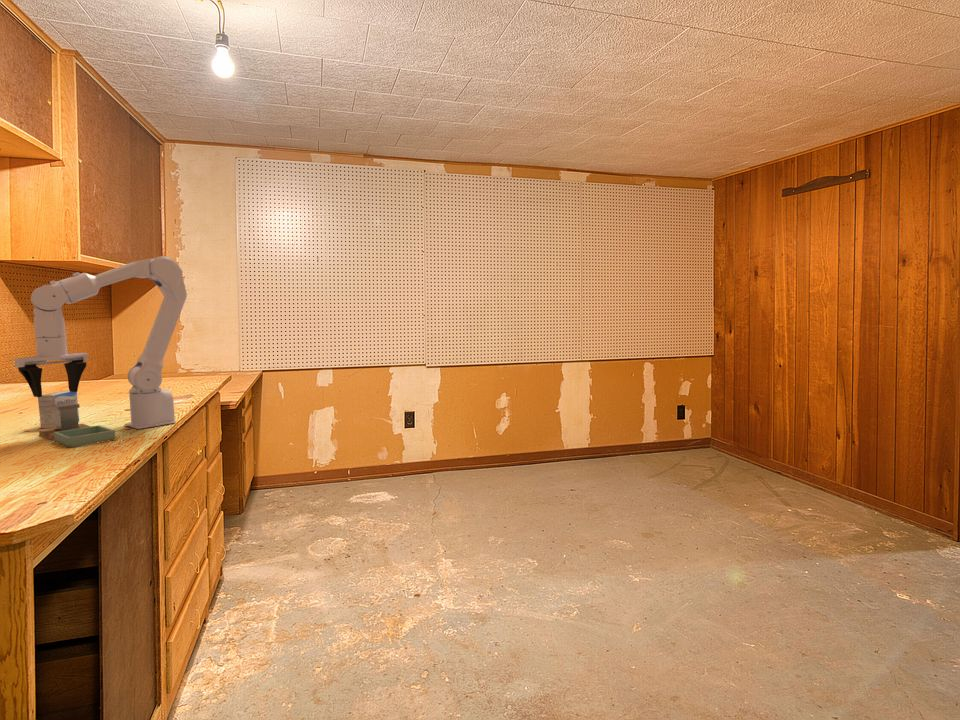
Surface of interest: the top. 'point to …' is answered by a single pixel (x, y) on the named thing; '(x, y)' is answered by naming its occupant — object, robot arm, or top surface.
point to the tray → (84, 436)
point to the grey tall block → (66, 416)
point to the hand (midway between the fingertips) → (56, 394)
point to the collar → (50, 432)
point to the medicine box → (52, 399)
